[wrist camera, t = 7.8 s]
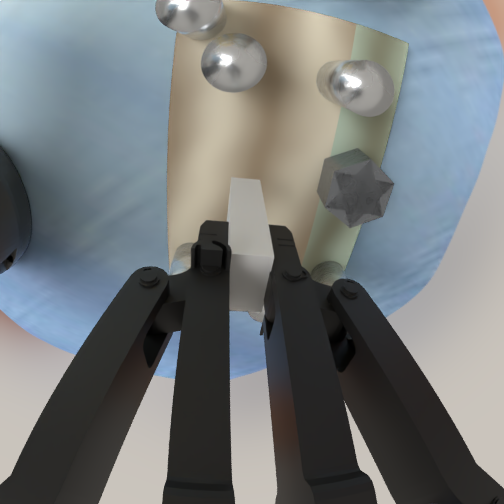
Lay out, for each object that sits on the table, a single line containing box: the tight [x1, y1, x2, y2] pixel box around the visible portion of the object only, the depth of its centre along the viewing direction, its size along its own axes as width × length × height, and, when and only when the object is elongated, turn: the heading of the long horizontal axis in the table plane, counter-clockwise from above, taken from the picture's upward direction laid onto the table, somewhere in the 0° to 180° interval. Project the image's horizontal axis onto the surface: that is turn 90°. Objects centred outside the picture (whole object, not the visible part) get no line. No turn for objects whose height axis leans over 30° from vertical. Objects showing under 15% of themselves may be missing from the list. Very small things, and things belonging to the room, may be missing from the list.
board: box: [167, 0, 409, 274], centre depth 20 cm, size 15×22×1 cm
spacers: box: [156, 0, 395, 322], centre depth 17 cm, size 15×22×5 cm
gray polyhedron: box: [317, 148, 394, 228], centre depth 19 cm, size 5×4×2 cm
